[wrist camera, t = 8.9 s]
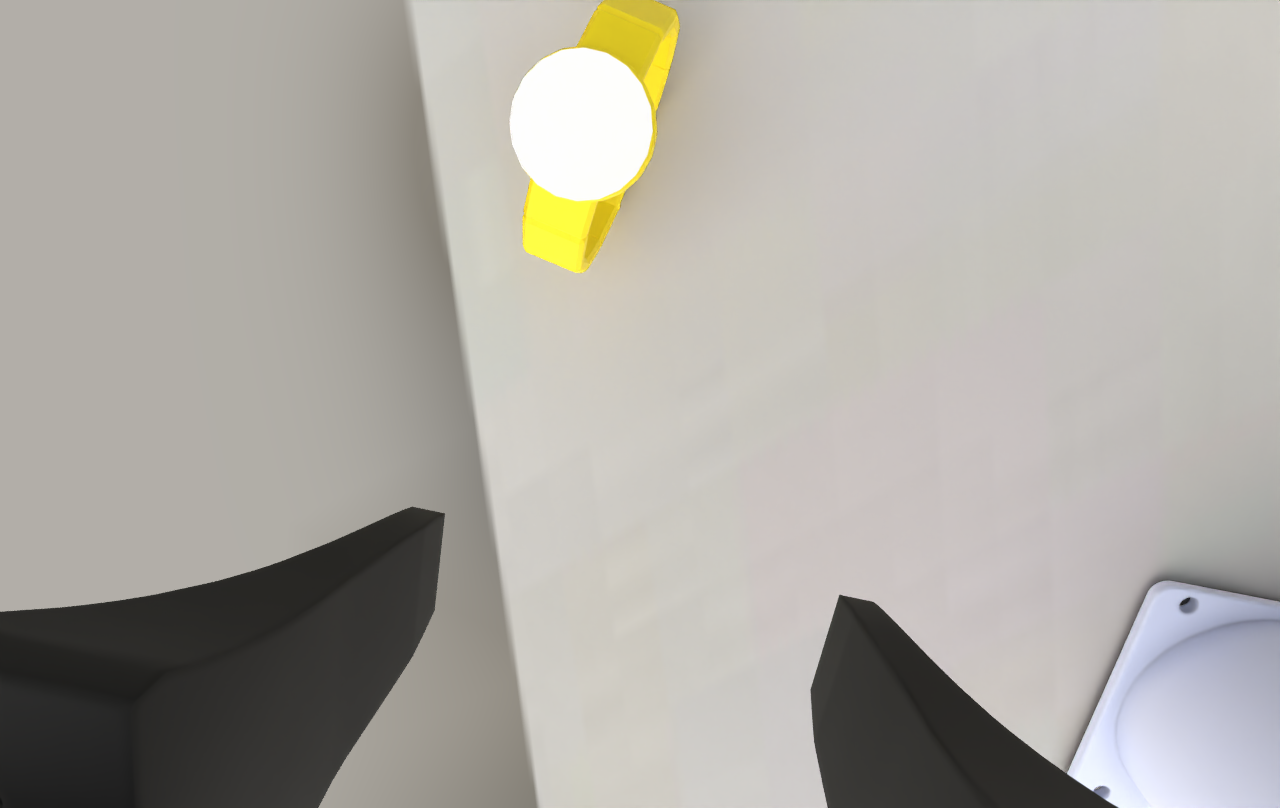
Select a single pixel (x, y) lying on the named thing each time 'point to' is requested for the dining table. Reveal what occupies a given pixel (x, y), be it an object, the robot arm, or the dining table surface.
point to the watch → (590, 127)
